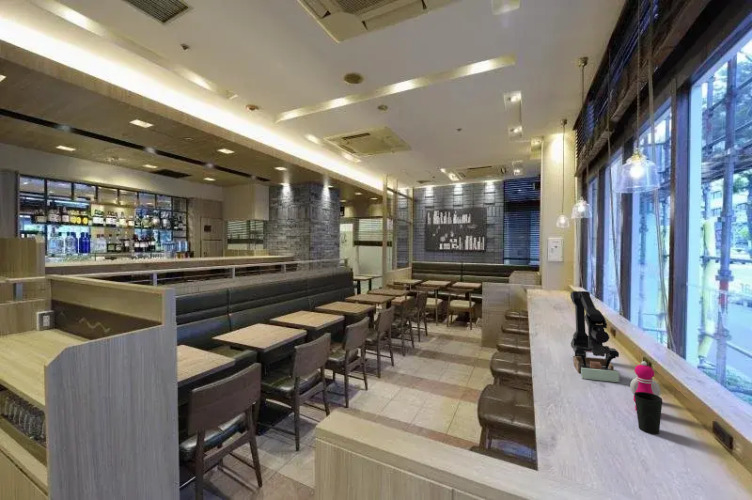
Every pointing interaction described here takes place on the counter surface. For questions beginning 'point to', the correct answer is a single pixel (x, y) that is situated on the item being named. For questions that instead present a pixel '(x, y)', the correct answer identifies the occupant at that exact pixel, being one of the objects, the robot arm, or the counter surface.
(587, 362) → the sleeve
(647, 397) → the cup
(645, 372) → the pepper mill
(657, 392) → the donut
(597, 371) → the tray
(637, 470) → the counter surface
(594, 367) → the block
